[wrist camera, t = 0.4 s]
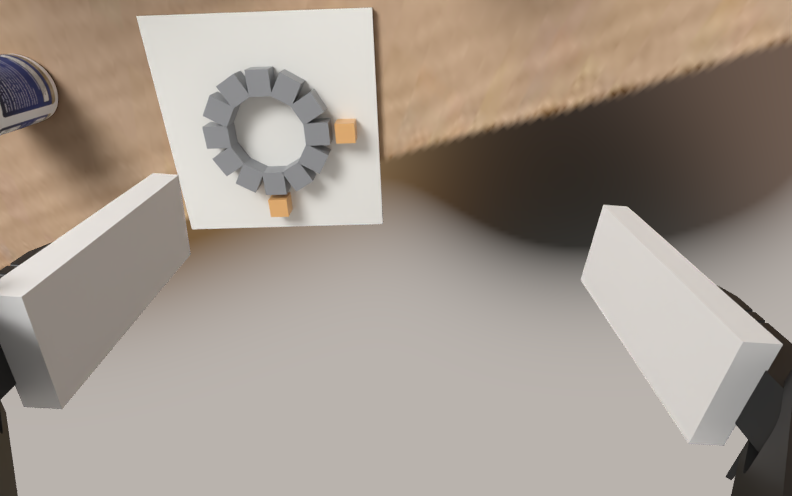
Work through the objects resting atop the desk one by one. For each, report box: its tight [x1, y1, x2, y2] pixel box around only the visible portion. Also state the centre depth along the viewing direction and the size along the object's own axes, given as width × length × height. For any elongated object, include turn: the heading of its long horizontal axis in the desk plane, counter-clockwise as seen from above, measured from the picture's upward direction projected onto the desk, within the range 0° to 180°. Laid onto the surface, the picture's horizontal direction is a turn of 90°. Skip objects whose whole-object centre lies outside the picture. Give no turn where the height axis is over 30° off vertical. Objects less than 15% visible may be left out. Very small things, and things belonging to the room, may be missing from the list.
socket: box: [136, 8, 383, 229], centre depth 39 cm, size 18×18×2 cm
